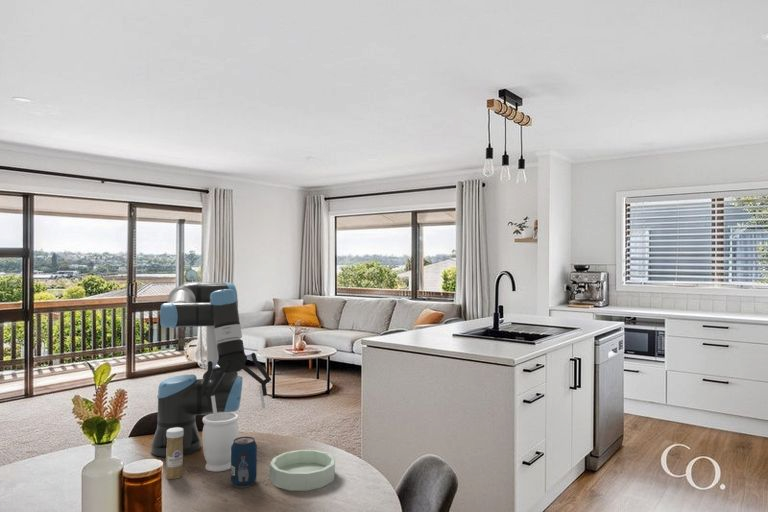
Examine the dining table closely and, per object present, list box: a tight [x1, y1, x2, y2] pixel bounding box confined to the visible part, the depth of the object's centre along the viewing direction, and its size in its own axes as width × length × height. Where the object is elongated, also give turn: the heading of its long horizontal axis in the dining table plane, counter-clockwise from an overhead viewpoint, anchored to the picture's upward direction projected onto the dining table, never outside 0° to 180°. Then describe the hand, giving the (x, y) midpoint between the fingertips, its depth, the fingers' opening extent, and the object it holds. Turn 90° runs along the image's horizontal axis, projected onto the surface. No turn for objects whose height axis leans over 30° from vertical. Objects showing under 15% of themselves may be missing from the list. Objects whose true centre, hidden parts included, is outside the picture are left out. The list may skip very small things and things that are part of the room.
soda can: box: [230, 436, 258, 488], centre depth 144 cm, size 7×7×12 cm
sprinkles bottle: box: [165, 427, 184, 480], centre depth 148 cm, size 5×5×14 cm
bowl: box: [269, 449, 336, 492], centre depth 149 cm, size 18×18×4 cm
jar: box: [201, 412, 239, 473], centre depth 156 cm, size 11×10×15 cm
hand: (240, 413), depth 151 cm, fingers open, 13 cm apart
